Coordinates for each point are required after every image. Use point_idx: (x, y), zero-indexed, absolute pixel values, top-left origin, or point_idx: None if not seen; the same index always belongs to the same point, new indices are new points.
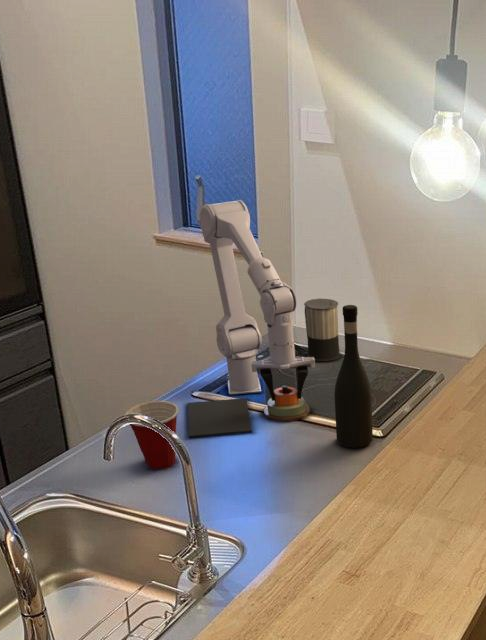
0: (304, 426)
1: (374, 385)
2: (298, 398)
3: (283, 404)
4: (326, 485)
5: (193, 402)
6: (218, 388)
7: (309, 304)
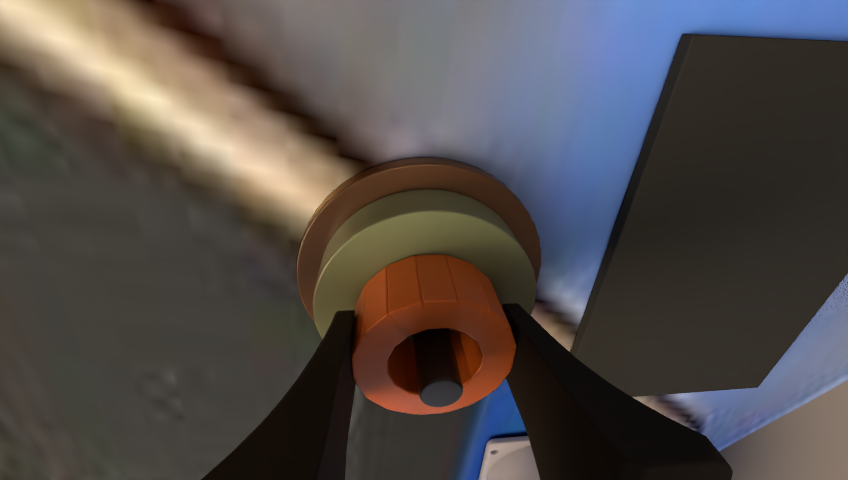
0: (338, 55)
1: (11, 467)
2: (353, 311)
3: (456, 262)
4: None
5: (742, 387)
6: None
7: None
